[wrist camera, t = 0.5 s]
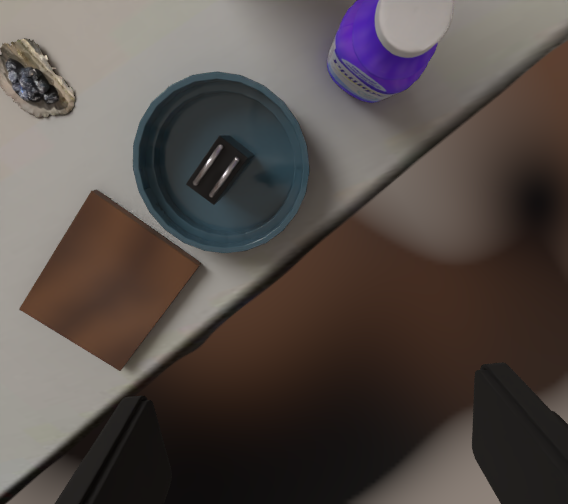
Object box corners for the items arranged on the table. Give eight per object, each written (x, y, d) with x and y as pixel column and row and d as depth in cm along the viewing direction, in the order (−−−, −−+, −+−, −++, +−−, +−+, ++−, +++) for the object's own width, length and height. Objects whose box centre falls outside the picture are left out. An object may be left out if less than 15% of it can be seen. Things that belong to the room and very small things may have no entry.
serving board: (25, 304, 45) (18, 309, 44) (96, 189, 41) (91, 190, 40) (124, 365, 48) (119, 371, 47) (201, 262, 43) (198, 266, 42)
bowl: (118, 179, 40) (100, 184, 37) (206, 40, 36) (196, 29, 32) (245, 270, 43) (240, 283, 40) (339, 151, 39) (345, 153, 35)
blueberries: (14, 26, 36) (-1, 20, 34) (89, 75, 37) (78, 72, 36) (-10, 88, 38) (-25, 86, 36) (62, 133, 39) (51, 133, 37)
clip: (200, 177, 40) (184, 184, 34) (229, 135, 39) (218, 135, 32) (224, 195, 41) (212, 206, 34) (254, 154, 39) (247, 158, 33)
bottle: (314, 72, 37) (334, 23, 20) (347, 17, 35) (397, -85, 19) (373, 114, 38) (437, 98, 21) (407, 62, 37) (504, 3, 20)
